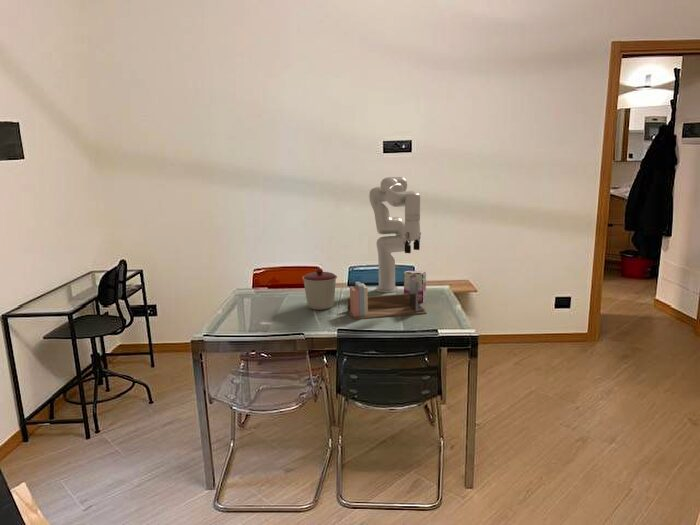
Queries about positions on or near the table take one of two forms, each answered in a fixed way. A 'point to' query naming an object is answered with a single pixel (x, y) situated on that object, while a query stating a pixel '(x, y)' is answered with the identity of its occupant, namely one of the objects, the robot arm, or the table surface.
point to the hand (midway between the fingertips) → (412, 251)
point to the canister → (320, 289)
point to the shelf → (387, 306)
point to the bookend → (414, 296)
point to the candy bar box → (421, 280)
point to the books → (359, 299)
